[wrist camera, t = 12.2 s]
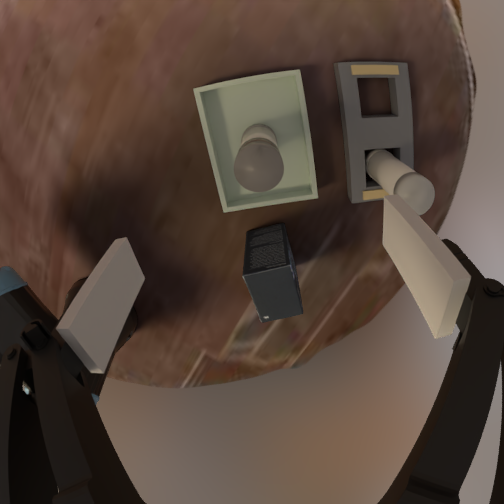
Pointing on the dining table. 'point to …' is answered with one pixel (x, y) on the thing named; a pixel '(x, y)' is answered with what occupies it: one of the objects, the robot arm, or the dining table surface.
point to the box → (271, 273)
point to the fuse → (400, 180)
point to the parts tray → (258, 112)
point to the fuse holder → (373, 123)
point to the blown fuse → (258, 159)
